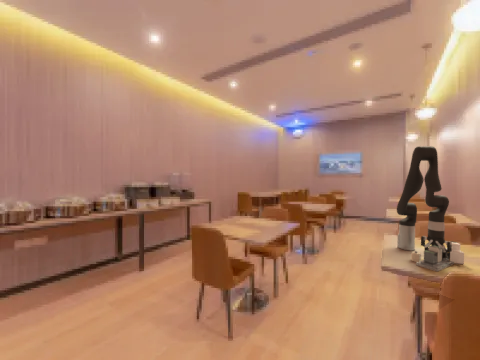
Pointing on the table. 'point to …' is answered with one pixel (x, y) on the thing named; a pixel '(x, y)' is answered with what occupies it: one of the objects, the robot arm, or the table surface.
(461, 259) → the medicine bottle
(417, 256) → the block
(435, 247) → the block
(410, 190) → the robot arm
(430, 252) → the board
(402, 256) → the table surface
